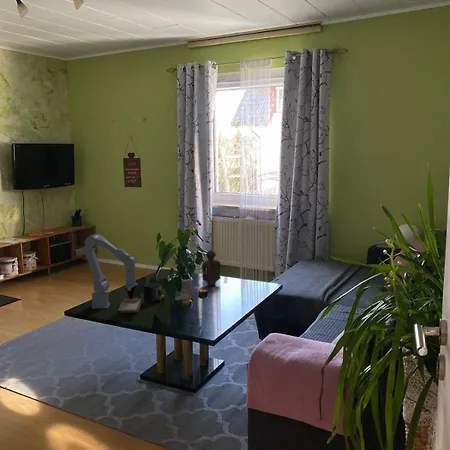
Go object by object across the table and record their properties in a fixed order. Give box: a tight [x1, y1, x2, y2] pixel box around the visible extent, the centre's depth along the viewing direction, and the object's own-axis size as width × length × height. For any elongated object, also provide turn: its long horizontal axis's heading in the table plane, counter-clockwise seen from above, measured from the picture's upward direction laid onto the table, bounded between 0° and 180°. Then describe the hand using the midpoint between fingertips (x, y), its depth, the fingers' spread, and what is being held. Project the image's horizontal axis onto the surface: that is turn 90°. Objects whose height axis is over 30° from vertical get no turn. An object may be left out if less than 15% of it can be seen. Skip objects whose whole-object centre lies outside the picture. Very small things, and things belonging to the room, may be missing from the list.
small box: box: [143, 281, 163, 305], centre depth 301 cm, size 11×6×10 cm, turn 148°
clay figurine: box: [201, 250, 221, 288], centre depth 331 cm, size 13×10×25 cm
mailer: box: [120, 298, 142, 314], centre depth 287 cm, size 10×13×4 cm
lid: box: [118, 298, 139, 312], centre depth 278 cm, size 10×13×3 cm
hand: (131, 298), depth 287 cm, fingers closed
